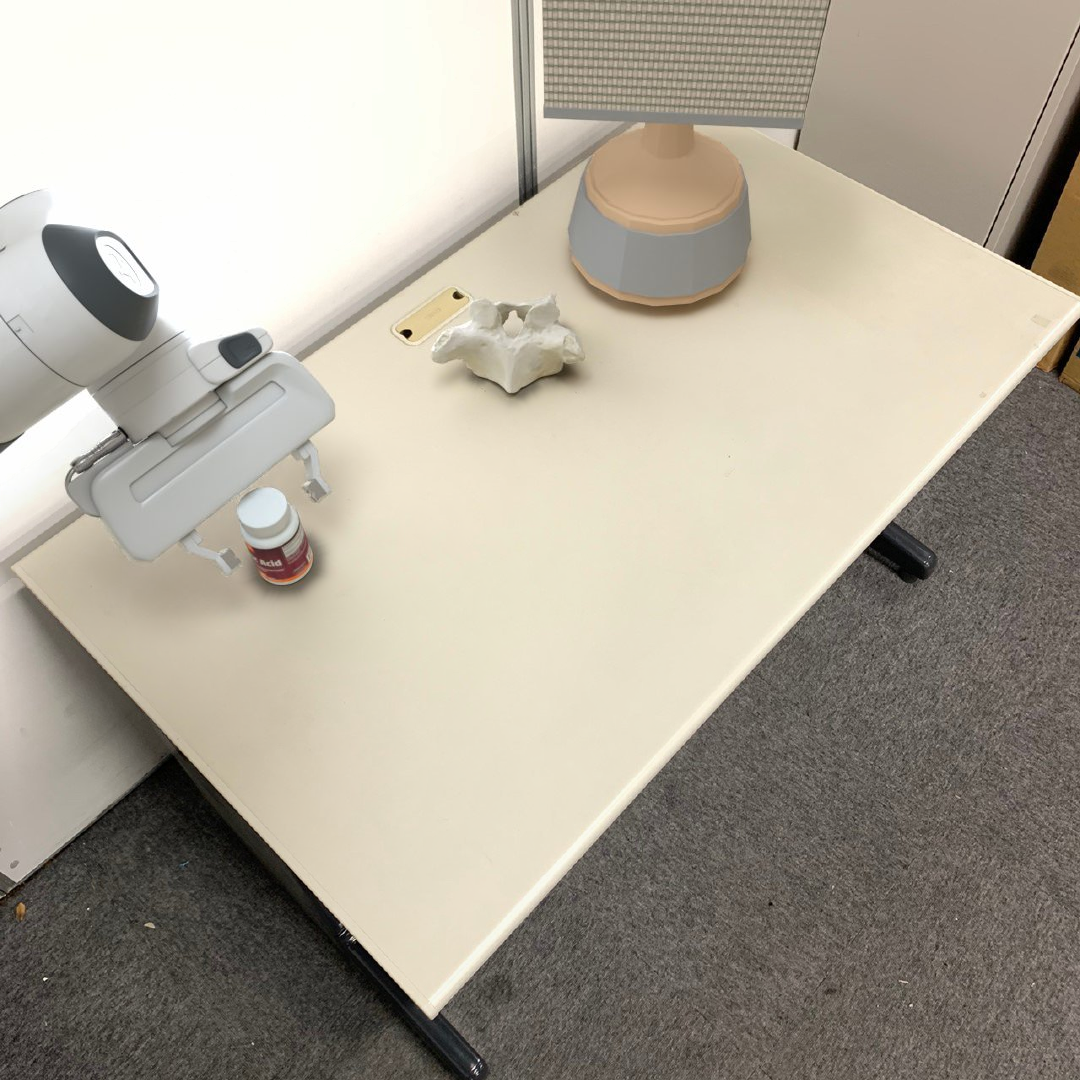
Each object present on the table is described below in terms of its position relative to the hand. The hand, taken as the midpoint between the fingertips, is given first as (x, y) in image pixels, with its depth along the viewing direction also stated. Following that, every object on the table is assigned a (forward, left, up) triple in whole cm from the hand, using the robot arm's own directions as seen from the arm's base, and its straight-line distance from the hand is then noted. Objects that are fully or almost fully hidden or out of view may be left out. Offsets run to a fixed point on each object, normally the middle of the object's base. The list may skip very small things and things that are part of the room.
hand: (279, 533), depth 81 cm
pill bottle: (0, +1, -5) cm, 6 cm away
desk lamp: (+51, 0, -5) cm, 51 cm away
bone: (+30, 0, -5) cm, 30 cm away
